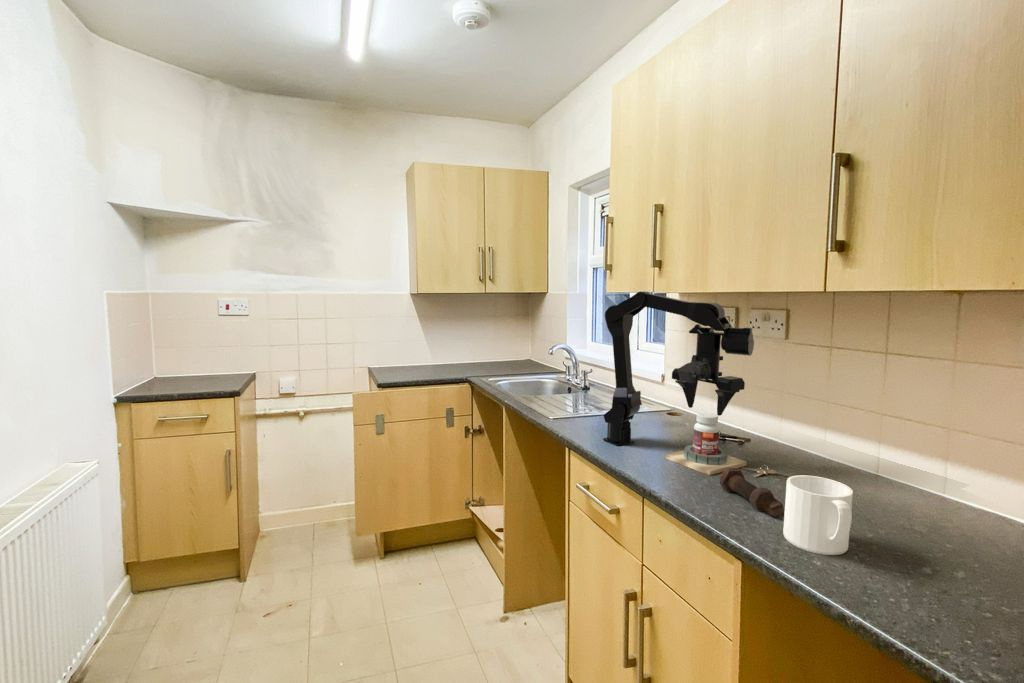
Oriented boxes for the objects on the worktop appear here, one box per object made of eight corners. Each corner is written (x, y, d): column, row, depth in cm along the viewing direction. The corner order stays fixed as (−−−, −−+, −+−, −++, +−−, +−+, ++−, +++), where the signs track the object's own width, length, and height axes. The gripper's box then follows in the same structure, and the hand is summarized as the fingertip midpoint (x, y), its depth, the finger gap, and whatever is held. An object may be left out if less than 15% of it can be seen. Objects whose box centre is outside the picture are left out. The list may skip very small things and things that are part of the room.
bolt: (772, 528, 101) (725, 495, 115) (793, 514, 101) (743, 483, 116) (761, 505, 99) (715, 474, 114) (782, 491, 100) (734, 462, 114)
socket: (665, 458, 135) (665, 447, 135) (701, 450, 142) (701, 439, 142) (709, 475, 123) (710, 463, 123) (746, 465, 130) (747, 454, 130)
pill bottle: (702, 462, 129) (705, 418, 128) (687, 455, 135) (689, 412, 134) (722, 460, 131) (725, 417, 130) (707, 453, 137) (709, 411, 135)
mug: (772, 528, 96) (775, 475, 95) (824, 527, 97) (828, 475, 96) (813, 564, 84) (818, 503, 83) (873, 563, 84) (878, 503, 83)
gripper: (658, 349, 136) (655, 406, 138) (717, 358, 120) (713, 423, 122) (687, 347, 141) (684, 402, 143) (748, 355, 125) (743, 418, 127)
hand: (704, 411), depth 134 cm, fingers open, 9 cm apart
